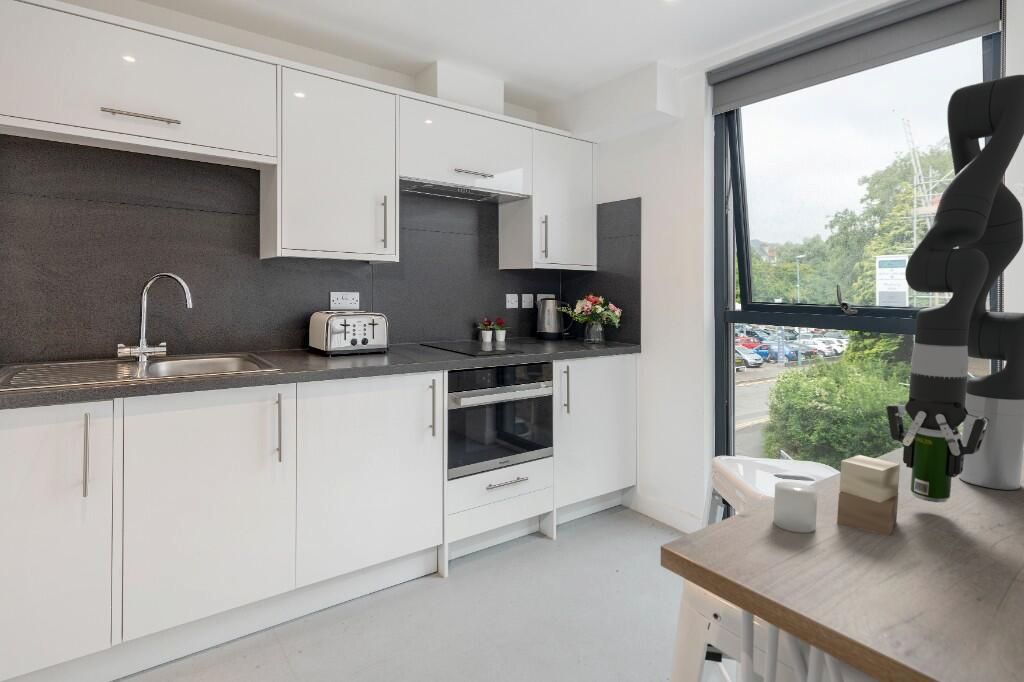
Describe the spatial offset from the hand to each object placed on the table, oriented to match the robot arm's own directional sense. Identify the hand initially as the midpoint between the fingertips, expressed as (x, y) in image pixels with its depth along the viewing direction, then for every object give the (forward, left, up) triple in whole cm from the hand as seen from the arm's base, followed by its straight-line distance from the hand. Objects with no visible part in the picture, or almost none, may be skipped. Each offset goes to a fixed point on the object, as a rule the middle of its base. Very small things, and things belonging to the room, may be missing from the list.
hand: (931, 470), depth 96 cm
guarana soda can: (0, 0, -5) cm, 5 cm away
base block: (+14, -4, -7) cm, 16 cm away
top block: (+14, -4, -2) cm, 14 cm away
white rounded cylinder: (+24, -10, -7) cm, 27 cm away
